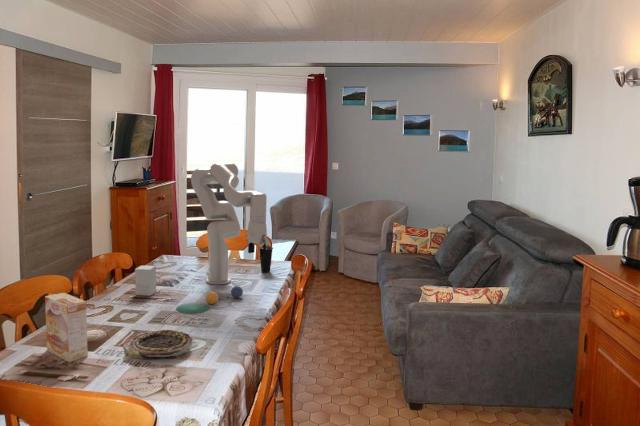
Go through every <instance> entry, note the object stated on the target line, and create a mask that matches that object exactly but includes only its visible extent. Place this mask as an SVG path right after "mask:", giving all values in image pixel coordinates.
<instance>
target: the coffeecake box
mask: <svg viewBox="0 0 640 426" xmlns="http://www.w3.org/2000/svg"><path fill="white" fill-rule="evenodd" d="M44 303H45V304H44V305H45V306H44V307H45V327H46V328H45V330H46V351H47V352H49V353H51V354H53V355H55V356H56V357H59V358H60V359H62V360H64V361H66V362H68V363H71V362H73V361H77V360H80V359H84V358H86V357H88V356H89V355H88V324H87V323H88V322H87V300H83V299H81V298H78V297H76V296H74V295H71V294H68V293H67V292H66V293H65V292H60V293H56V294H49V295H45V296H44Z"/></svg>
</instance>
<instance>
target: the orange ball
mask: <svg viewBox="0 0 640 426" xmlns="http://www.w3.org/2000/svg"><path fill="white" fill-rule="evenodd" d="M218 300H219V295H218V294H217V293H216V292H215V291H209V292H208V293H206V294H205V301H206V302H207V303H208V304H209V305H215V304H216V303H217V302H218Z"/></svg>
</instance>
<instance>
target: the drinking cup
mask: <svg viewBox="0 0 640 426" xmlns="http://www.w3.org/2000/svg"><path fill="white" fill-rule="evenodd" d="M258 249H259V250H260V249H261V247H260V246H259V248H258ZM273 249H274V248H273V247H272V246H271V245H268V247H267V248H266V257H260V256H259V258H260V271H261V273H263V274H264V273H265V274H266V273H270V272H271V265H272V256H273Z"/></svg>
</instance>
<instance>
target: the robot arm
mask: <svg viewBox="0 0 640 426" xmlns="http://www.w3.org/2000/svg"><path fill="white" fill-rule="evenodd" d="M190 175H191V176H190V183H191V187H192V189H193V191H194V192H195V194H196V196H197V199H198V201H199V204H200V206H201V209H202V213H203V215H204V217H205V219H206V220H208V221H211V222H210V223H209V224H208V225H207V228H206V232H207V237H208V254H209V255H208V272H206V275H207V276H208V277H207V278H206V279H205V282H206V284H210V285H226V284H229V283H231V282H232V279H231V277H229V247H228V243H227V242H226V241H225V239H231V238H232V239H233V238H237V237H238V236H240V235H241V234H240V233H241V225H240V221H239V219H238V216H237V213H236V211H235V208H234V207H236V208H246V207H249V222H248V226H247V234H246V235H245V236H246V241H247V246H248V248H247V253H248V254H253V253H255V245H259V247H261V249H259V258H260V257H266V248H267V247H268V246H269V243H270V240H269V238H268V233H267V231H268V230H267V223H266V222H267V194H266V193H265V192H264V193H263V192H258V191H256V190H239V191H237V187H238V185H239V183H240V180H239V179H240V178H239V177H238V175H239V169H238V166H237V165H236V164H235V163H233V162H229V161H228V162H215V163H213V164H212V165H210V167H200V168H199V167H198V168H197V169H194V170H193V172H192V173H191V174H190ZM218 184H220V185H221V187H222V188H223V190H222V191H223V195H224V198H225V200H218V199H217V197H216V194H215V192H214V191H213V190H212V188H211V187H209V185H218Z"/></svg>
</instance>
